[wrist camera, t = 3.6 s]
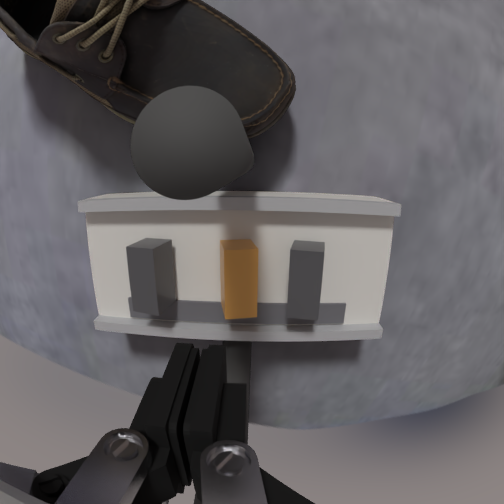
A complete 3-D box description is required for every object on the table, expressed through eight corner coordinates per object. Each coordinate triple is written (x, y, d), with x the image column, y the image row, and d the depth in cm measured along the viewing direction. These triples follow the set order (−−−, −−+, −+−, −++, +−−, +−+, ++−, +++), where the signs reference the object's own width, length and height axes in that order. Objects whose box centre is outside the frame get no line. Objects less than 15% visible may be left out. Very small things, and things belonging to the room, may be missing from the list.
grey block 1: (171, 239, 20) (152, 249, 18) (175, 300, 21) (159, 315, 19) (146, 237, 21) (125, 246, 18) (151, 296, 22) (133, 311, 20)
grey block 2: (324, 242, 20) (324, 252, 18) (319, 304, 21) (318, 320, 19) (294, 239, 21) (290, 249, 18) (290, 301, 22) (286, 317, 19)
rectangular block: (250, 239, 21) (258, 248, 18) (249, 300, 22) (256, 317, 19) (219, 240, 20) (223, 250, 18) (220, 302, 21) (225, 319, 19)
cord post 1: (255, 144, 23) (245, 83, 6) (254, 175, 24) (243, 200, 6) (223, 144, 23) (132, 91, 6) (222, 174, 24) (130, 201, 6)
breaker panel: (375, 196, 24) (401, 204, 19) (362, 310, 26) (381, 338, 22) (108, 193, 24) (77, 201, 19) (119, 303, 27) (95, 329, 22)
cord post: (251, 323, 27) (244, 514, 10) (251, 346, 28) (244, 532, 10) (224, 322, 27) (188, 509, 10) (225, 345, 28) (194, 528, 10)
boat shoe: (246, 180, 24) (238, 191, 14) (7, 70, 21) (-63, 55, 10) (313, 66, 21) (349, 7, 11) (57, -16, 18) (2, -54, 8)
